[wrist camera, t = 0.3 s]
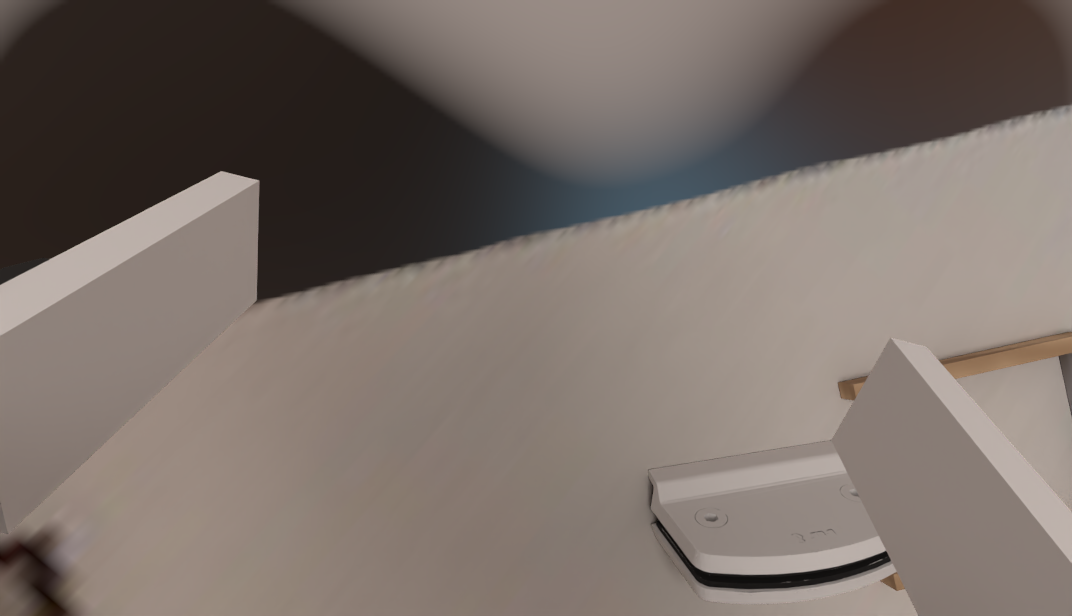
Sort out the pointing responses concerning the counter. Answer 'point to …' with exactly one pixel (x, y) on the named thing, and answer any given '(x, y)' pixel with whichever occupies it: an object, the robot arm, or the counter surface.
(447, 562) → the counter surface
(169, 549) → the counter surface
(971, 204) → the counter surface
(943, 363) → the frame
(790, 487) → the grey piece
